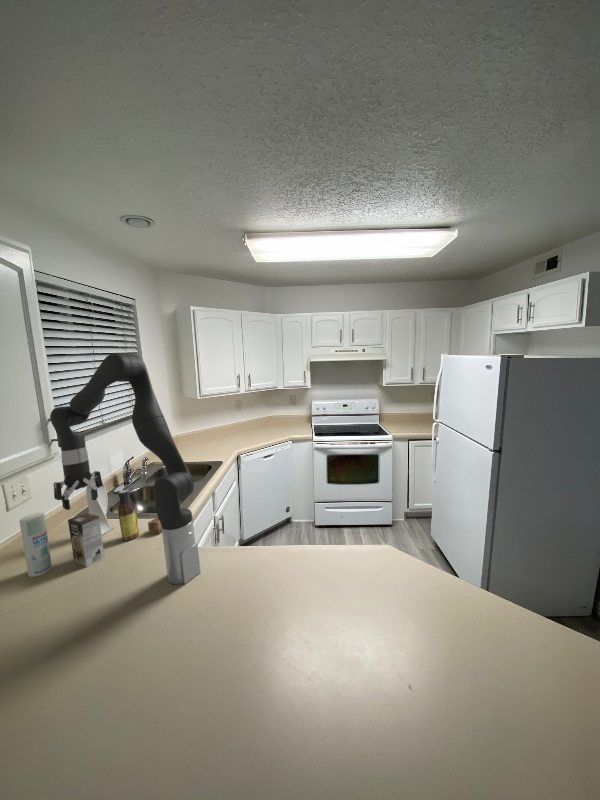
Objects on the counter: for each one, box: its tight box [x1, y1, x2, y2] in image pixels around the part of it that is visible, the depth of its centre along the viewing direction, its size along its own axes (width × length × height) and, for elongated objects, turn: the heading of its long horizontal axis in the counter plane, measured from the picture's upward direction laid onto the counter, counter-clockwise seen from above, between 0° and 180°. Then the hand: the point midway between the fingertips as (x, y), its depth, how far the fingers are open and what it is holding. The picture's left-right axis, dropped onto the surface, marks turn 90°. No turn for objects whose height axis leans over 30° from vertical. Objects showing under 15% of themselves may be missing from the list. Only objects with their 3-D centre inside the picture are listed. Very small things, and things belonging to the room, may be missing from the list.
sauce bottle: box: [117, 489, 140, 542], centre depth 122 cm, size 7×6×20 cm
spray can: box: [19, 512, 52, 578], centre depth 103 cm, size 6×6×20 cm
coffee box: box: [67, 512, 105, 568], centre depth 108 cm, size 9×6×16 cm
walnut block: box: [147, 516, 162, 535], centre depth 126 cm, size 5×5×5 cm
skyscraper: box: [85, 469, 114, 536], centre depth 129 cm, size 8×8×28 cm
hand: (81, 504), depth 107 cm, fingers open, 8 cm apart
